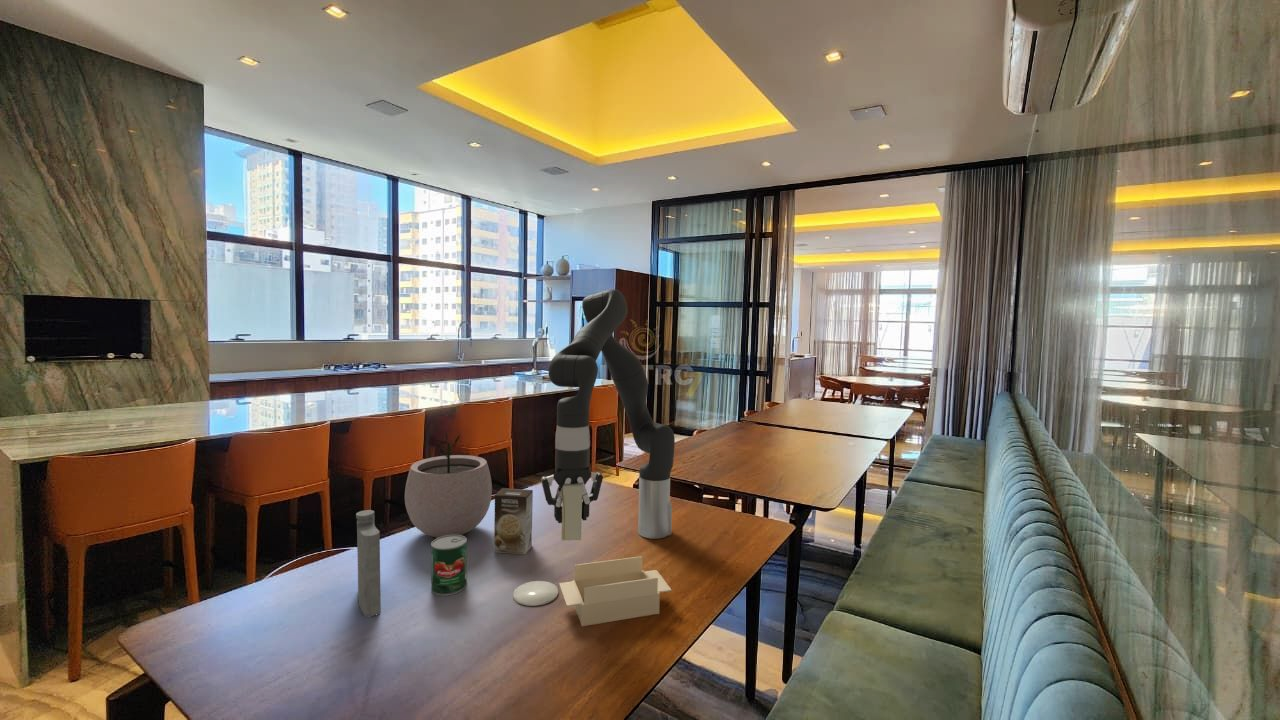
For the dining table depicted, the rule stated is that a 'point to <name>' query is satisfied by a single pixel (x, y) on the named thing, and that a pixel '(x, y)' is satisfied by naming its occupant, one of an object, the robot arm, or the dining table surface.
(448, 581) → the canned tomato
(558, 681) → the dining table surface
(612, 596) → the carton
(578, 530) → the skincare box
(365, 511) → the hip flask
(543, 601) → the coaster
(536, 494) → the dining table surface
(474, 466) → the plant pot
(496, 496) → the coffee box
